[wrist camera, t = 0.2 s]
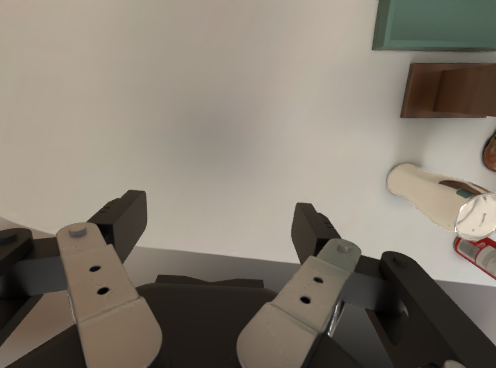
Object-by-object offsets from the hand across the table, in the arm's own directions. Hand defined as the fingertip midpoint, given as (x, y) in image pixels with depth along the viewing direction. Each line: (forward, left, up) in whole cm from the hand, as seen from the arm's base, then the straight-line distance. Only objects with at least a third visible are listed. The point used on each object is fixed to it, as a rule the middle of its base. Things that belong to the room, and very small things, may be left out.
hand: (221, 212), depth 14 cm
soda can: (+18, +48, -29) cm, 59 cm away
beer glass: (+6, +31, -29) cm, 43 cm away
